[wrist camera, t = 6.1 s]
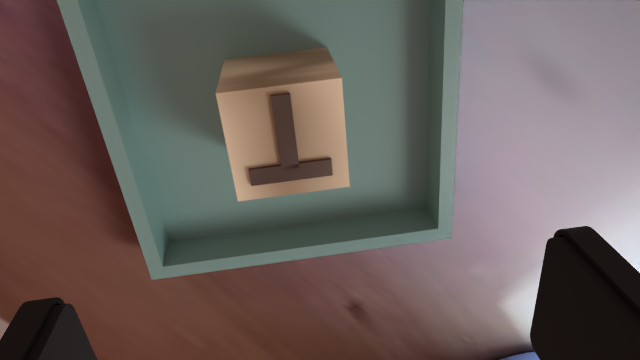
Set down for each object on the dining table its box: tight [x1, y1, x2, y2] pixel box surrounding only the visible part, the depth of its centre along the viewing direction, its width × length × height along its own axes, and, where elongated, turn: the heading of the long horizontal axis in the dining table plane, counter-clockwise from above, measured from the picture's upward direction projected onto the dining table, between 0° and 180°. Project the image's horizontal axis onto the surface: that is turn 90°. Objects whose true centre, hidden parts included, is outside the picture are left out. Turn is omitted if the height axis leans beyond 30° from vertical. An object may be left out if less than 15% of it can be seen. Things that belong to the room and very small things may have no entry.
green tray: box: [57, 0, 463, 280], centre depth 22 cm, size 15×15×2 cm
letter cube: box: [216, 47, 350, 201], centre depth 20 cm, size 4×4×5 cm
